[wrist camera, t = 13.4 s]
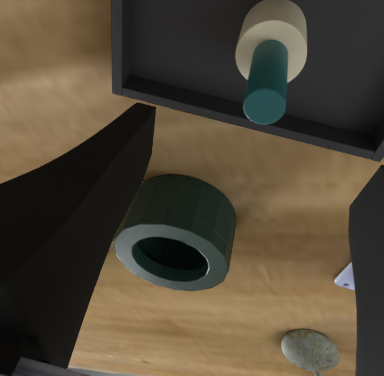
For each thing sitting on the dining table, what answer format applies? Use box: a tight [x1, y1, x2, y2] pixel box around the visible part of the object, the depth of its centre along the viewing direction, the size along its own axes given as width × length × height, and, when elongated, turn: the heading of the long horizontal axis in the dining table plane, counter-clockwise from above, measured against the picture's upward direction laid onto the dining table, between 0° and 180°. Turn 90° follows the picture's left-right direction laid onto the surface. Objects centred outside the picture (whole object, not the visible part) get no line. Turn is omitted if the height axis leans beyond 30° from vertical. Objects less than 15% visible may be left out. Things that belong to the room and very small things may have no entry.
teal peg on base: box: [235, 0, 307, 125], centre depth 16 cm, size 3×3×7 cm
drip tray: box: [111, 0, 384, 162], centre depth 18 cm, size 16×10×2 cm, turn 81°
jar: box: [114, 175, 236, 291], centre depth 29 cm, size 9×9×5 cm
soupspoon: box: [282, 329, 339, 376], centre depth 48 cm, size 22×3×7 cm
